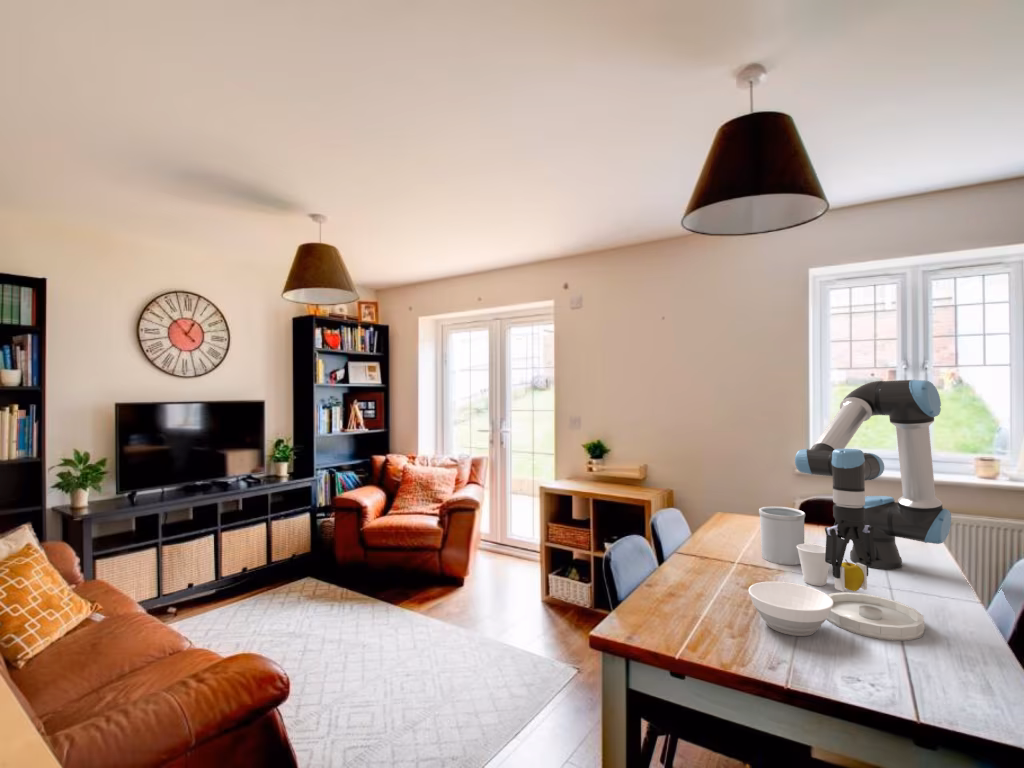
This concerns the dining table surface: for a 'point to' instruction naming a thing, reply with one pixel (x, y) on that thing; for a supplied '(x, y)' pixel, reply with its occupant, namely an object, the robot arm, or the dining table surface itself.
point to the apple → (852, 576)
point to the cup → (813, 563)
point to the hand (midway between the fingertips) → (850, 588)
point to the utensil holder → (781, 534)
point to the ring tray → (880, 629)
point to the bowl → (791, 607)
